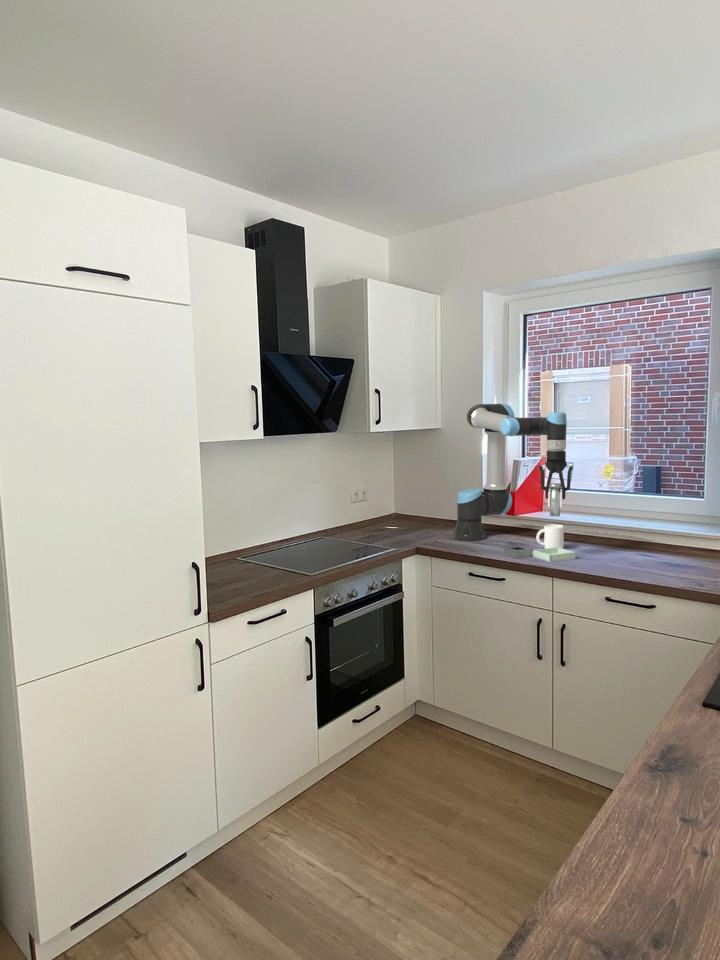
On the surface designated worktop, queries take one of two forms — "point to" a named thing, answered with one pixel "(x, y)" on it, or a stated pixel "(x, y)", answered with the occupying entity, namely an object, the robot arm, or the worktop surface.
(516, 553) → the hitch plate
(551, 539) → the mug
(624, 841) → the worktop surface
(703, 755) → the worktop surface
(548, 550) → the tray
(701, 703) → the worktop surface
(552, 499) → the pin
